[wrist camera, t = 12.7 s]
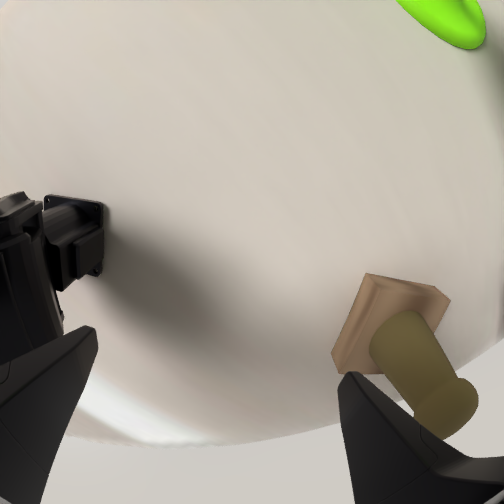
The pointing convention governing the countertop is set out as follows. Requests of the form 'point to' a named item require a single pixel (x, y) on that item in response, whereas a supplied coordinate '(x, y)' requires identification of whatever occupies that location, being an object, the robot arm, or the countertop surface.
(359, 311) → the tan flat block
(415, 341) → the olive tall rounded piece
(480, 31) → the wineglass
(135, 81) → the countertop surface
